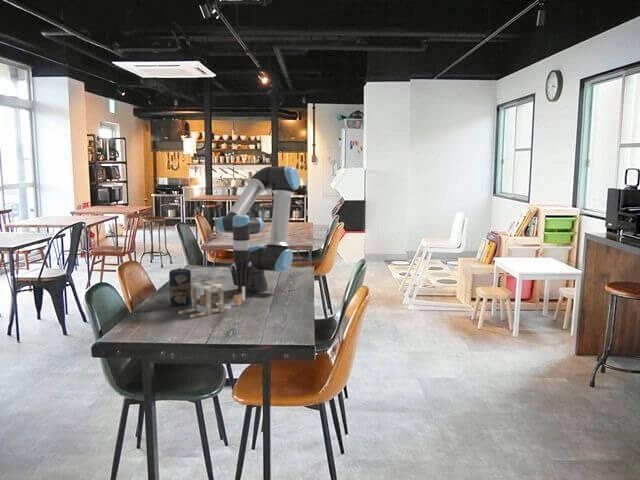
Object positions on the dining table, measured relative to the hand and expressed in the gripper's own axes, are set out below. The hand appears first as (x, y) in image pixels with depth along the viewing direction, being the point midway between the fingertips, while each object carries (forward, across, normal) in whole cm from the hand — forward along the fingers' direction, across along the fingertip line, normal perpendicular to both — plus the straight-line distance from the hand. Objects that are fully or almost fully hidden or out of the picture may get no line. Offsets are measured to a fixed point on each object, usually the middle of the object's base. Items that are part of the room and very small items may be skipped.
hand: (242, 299), depth 262 cm
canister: (+3, +20, -19) cm, 28 cm away
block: (+1, +19, 0) cm, 19 cm away
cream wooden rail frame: (+3, +17, 0) cm, 18 cm away
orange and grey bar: (+2, +12, 0) cm, 12 cm away
